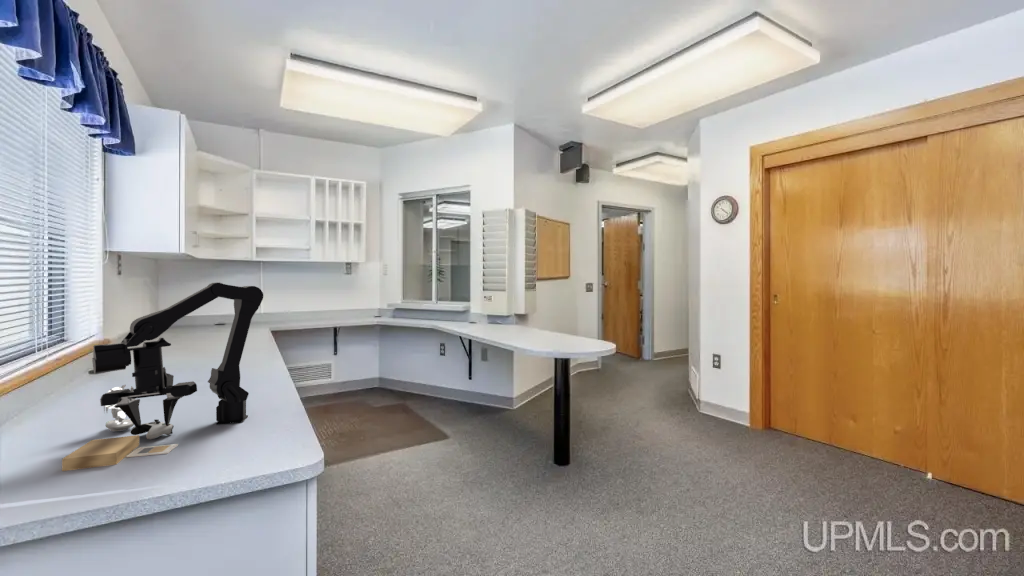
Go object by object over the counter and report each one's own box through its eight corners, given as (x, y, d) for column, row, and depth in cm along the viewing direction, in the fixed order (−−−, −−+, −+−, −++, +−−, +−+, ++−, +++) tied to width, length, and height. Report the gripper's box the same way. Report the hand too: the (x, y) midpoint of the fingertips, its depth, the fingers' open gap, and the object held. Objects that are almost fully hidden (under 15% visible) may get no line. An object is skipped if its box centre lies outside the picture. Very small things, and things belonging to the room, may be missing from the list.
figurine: (140, 430, 121) (140, 386, 121) (110, 437, 115) (110, 390, 115) (125, 425, 125) (125, 382, 125) (95, 431, 120) (96, 387, 120)
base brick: (139, 447, 109) (139, 435, 109) (116, 466, 97) (116, 452, 97) (91, 452, 105) (91, 439, 105) (62, 473, 93) (62, 458, 93)
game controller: (126, 431, 114) (148, 412, 118) (142, 443, 117) (162, 424, 121) (146, 436, 110) (167, 416, 114) (161, 449, 113) (182, 429, 117)
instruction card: (178, 445, 109) (178, 443, 109) (167, 453, 103) (167, 451, 103) (138, 448, 106) (138, 447, 106) (125, 457, 101) (125, 455, 101)
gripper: (202, 357, 125) (206, 412, 125) (121, 365, 119) (125, 423, 119) (186, 363, 114) (191, 424, 114) (96, 372, 108) (101, 436, 108)
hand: (153, 426), depth 114 cm, fingers closed on game controller, 6 cm apart
